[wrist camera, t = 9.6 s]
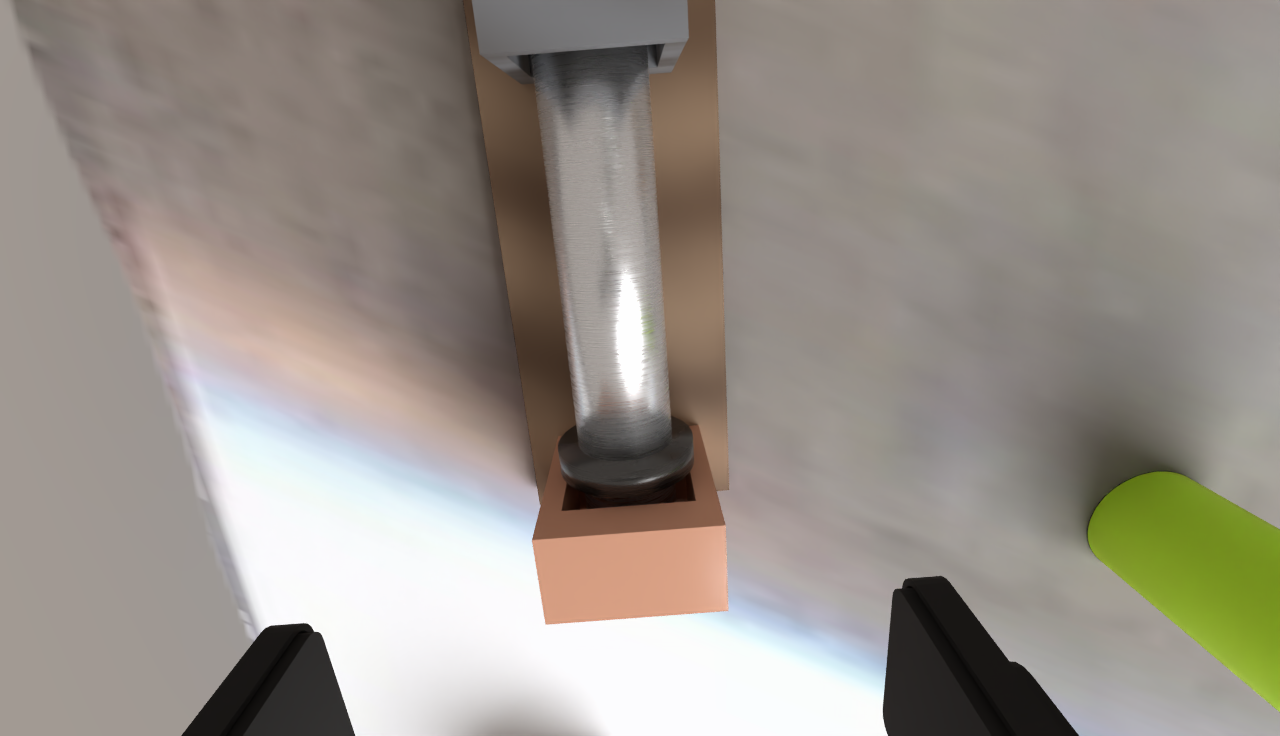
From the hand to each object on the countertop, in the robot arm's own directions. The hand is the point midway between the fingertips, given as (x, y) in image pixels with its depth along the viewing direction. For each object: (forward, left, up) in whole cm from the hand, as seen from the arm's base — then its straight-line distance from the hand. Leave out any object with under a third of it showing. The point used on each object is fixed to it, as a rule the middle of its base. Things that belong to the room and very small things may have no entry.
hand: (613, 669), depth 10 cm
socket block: (+5, 0, -17) cm, 18 cm away
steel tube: (-4, 0, -16) cm, 16 cm away
